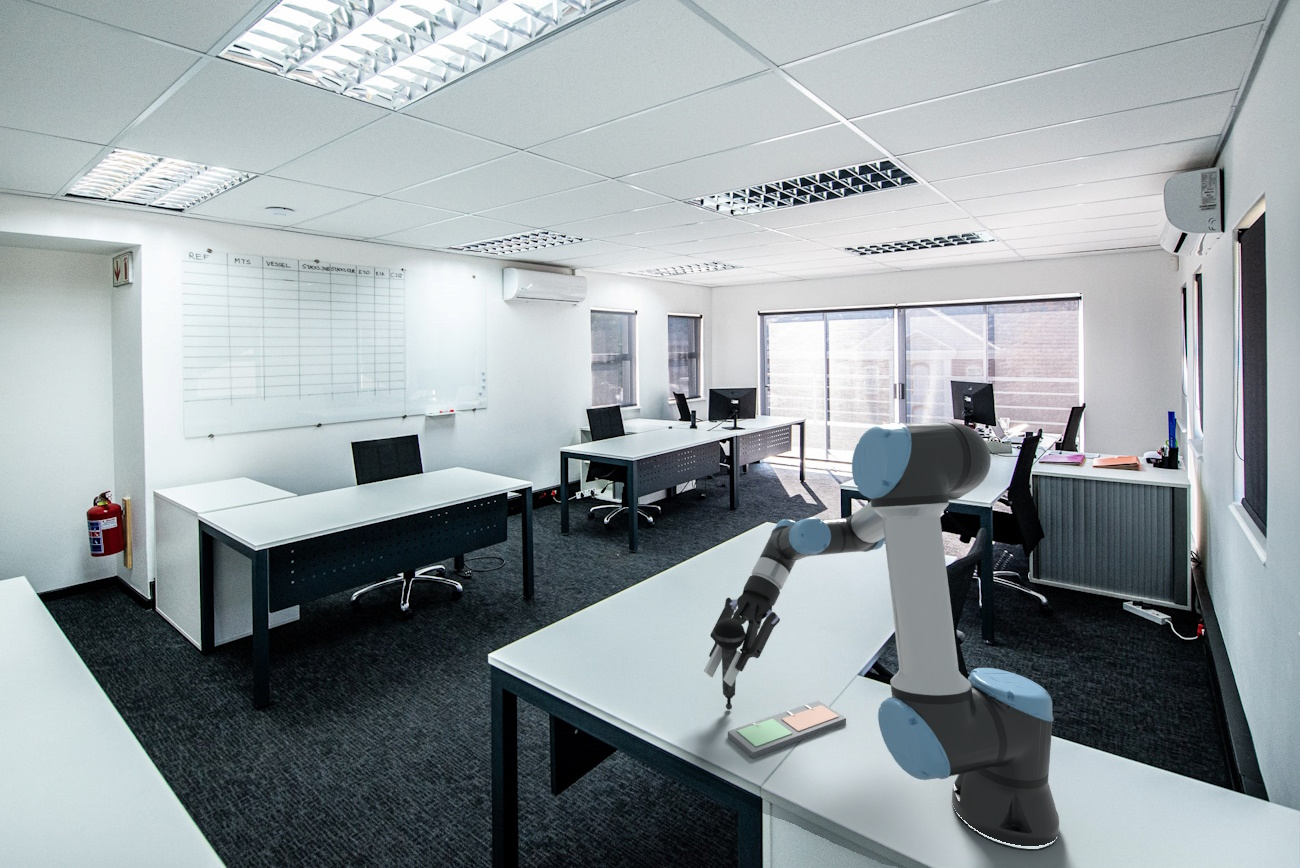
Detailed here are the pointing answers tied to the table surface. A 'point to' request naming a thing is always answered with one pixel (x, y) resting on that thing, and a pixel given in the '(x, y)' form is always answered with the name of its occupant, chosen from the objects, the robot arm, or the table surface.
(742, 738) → the board
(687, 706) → the table surface
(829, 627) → the table surface
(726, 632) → the microphone
